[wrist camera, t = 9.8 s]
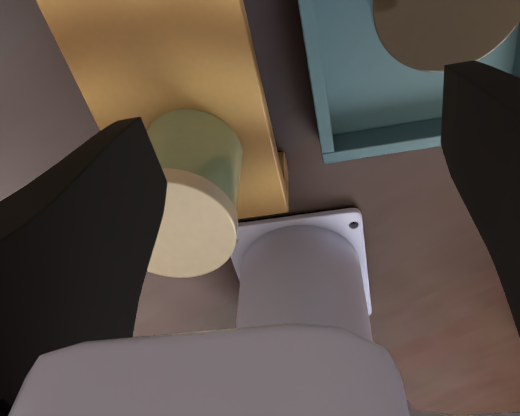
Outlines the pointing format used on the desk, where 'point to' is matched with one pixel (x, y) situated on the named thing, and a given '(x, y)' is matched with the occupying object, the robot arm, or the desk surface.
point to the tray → (373, 84)
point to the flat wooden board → (175, 75)
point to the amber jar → (442, 29)
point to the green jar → (196, 192)
